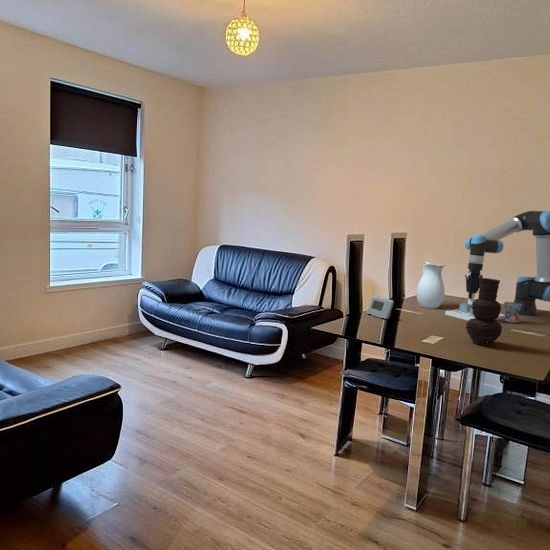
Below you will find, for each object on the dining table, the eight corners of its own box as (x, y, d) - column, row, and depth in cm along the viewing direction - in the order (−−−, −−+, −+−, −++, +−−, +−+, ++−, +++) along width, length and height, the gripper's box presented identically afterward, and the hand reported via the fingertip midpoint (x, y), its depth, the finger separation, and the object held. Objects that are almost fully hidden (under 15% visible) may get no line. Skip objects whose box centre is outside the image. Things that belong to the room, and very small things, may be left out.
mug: (517, 324, 273) (520, 306, 272) (500, 321, 279) (502, 303, 278) (522, 321, 283) (524, 303, 281) (505, 318, 288) (507, 300, 287)
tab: (463, 310, 294) (464, 302, 294) (470, 311, 290) (471, 303, 289) (459, 310, 292) (460, 302, 291) (466, 312, 288) (467, 304, 287)
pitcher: (446, 310, 303) (451, 265, 299) (419, 308, 303) (423, 263, 299) (434, 302, 326) (439, 261, 323) (409, 301, 327) (413, 259, 323)
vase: (482, 349, 217) (490, 282, 213) (456, 339, 231) (464, 276, 227) (507, 347, 223) (516, 282, 219) (481, 338, 237) (488, 276, 233)
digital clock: (365, 313, 277) (366, 295, 276) (378, 313, 281) (380, 295, 279) (380, 320, 262) (382, 301, 261) (395, 320, 266) (397, 300, 264)
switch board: (476, 311, 306) (477, 306, 305) (506, 318, 289) (507, 313, 289) (445, 314, 289) (445, 309, 289) (474, 322, 273) (475, 317, 272)
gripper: (477, 262, 280) (471, 302, 283) (462, 261, 273) (457, 303, 276) (488, 263, 274) (483, 305, 277) (474, 263, 267) (468, 306, 270)
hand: (470, 304), depth 277 cm, fingers closed
